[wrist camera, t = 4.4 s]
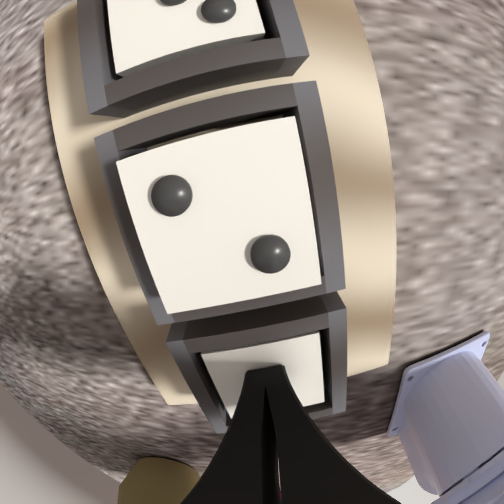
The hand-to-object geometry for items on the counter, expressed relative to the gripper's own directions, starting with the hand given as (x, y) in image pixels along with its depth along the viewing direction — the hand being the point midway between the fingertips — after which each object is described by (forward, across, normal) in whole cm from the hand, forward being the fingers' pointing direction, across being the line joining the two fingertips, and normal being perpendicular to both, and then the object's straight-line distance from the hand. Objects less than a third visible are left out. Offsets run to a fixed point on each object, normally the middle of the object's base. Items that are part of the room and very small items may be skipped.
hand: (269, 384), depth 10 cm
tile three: (+2, 0, -13) cm, 13 cm away
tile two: (+1, 0, -7) cm, 7 cm away
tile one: (+2, 0, 0) cm, 2 cm away
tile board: (+4, 0, -6) cm, 8 cm away
